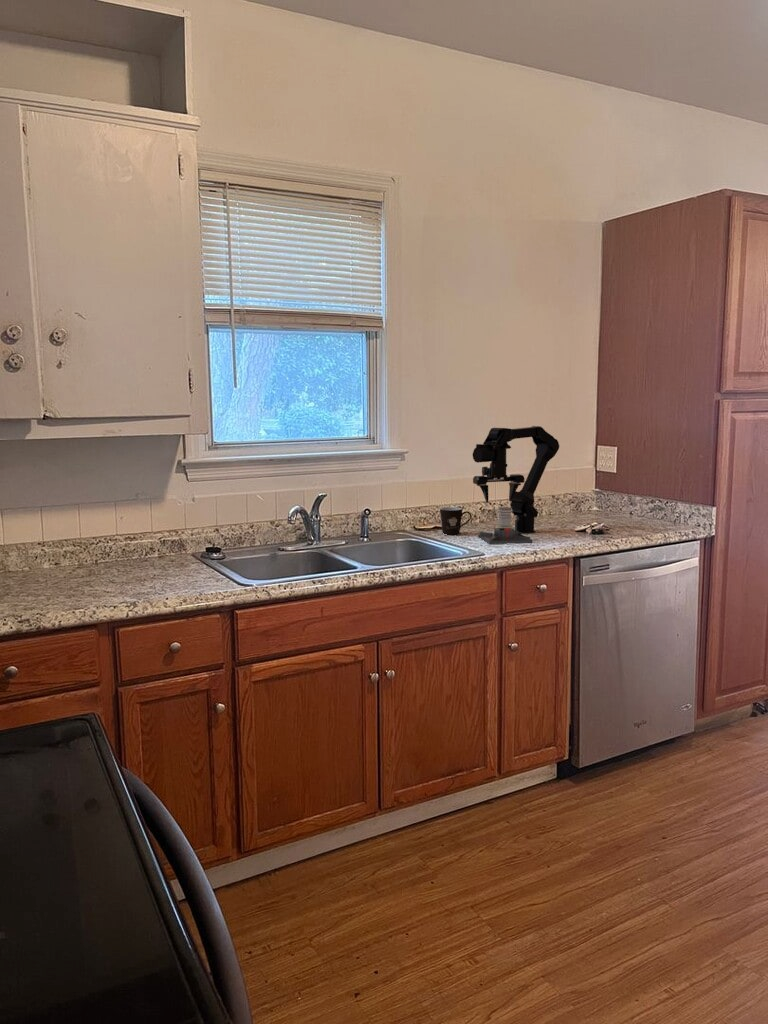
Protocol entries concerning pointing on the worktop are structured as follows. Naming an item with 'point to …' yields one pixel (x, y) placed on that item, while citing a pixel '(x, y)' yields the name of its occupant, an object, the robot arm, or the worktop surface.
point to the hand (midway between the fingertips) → (498, 501)
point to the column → (504, 517)
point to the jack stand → (504, 536)
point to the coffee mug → (452, 520)
